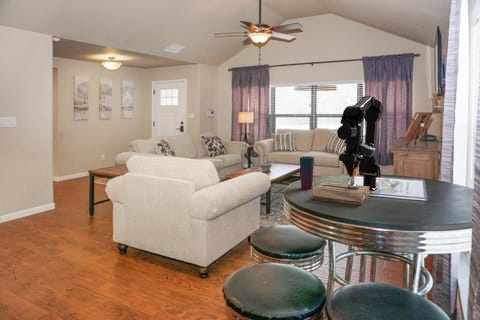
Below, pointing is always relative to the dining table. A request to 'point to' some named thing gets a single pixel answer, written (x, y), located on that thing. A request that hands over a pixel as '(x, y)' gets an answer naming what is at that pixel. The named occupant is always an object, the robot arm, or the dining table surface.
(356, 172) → the peg
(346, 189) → the keyhole track
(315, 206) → the dining table surface
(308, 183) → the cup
